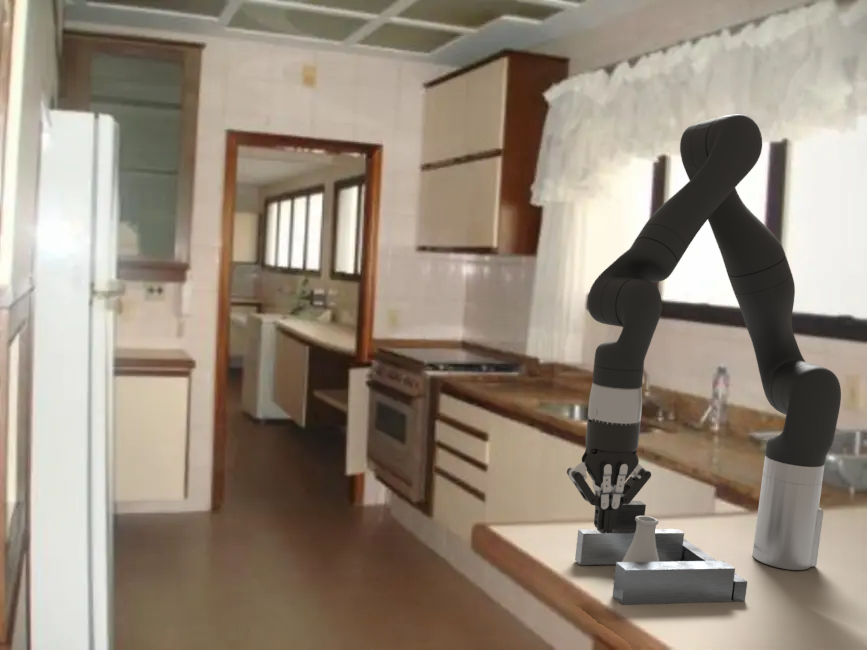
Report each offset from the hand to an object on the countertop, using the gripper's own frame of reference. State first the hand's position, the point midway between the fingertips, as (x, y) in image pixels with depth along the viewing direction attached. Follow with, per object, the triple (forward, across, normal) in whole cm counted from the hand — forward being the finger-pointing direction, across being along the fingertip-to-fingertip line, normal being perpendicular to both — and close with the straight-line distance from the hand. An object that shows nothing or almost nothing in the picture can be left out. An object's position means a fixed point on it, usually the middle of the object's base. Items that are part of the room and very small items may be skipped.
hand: (603, 531), depth 139 cm
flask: (+8, -7, 0) cm, 11 cm away
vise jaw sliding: (+8, -9, -8) cm, 15 cm away
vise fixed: (+8, -10, -2) cm, 13 cm away
